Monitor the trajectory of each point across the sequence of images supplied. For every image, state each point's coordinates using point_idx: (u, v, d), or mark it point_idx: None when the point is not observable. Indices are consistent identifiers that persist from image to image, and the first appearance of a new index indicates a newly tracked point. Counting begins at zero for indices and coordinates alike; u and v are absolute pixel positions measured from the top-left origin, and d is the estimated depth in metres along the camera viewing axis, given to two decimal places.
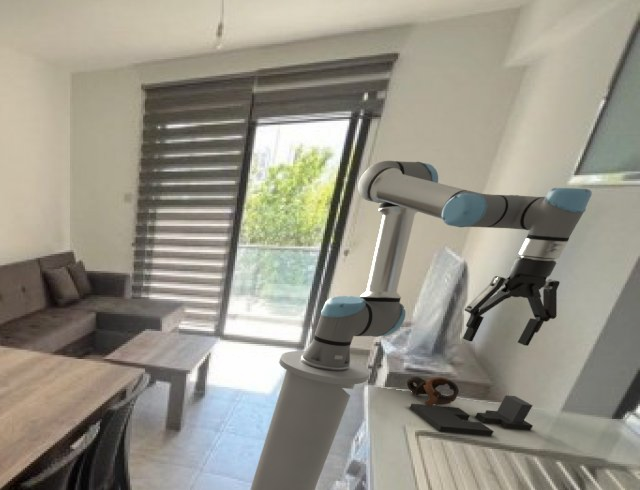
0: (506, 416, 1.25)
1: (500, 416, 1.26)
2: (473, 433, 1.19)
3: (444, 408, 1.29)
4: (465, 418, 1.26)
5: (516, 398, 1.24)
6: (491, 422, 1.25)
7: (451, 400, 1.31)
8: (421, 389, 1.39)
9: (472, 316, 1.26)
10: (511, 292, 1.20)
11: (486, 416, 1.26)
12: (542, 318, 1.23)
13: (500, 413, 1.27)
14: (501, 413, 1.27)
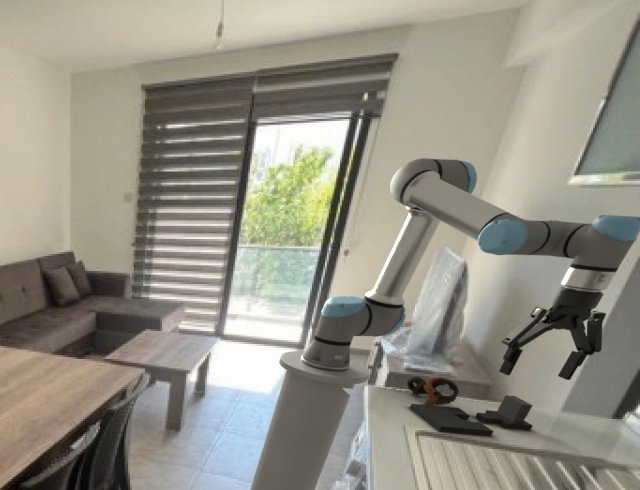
0: (506, 416, 1.25)
1: (500, 416, 1.26)
2: (473, 433, 1.19)
3: (444, 408, 1.29)
4: (465, 418, 1.26)
5: (516, 398, 1.24)
6: (491, 422, 1.25)
7: (451, 400, 1.31)
8: (421, 389, 1.39)
9: (510, 349, 1.18)
10: (553, 324, 1.13)
11: (486, 416, 1.26)
12: (586, 351, 1.15)
13: (500, 413, 1.27)
14: (501, 413, 1.27)
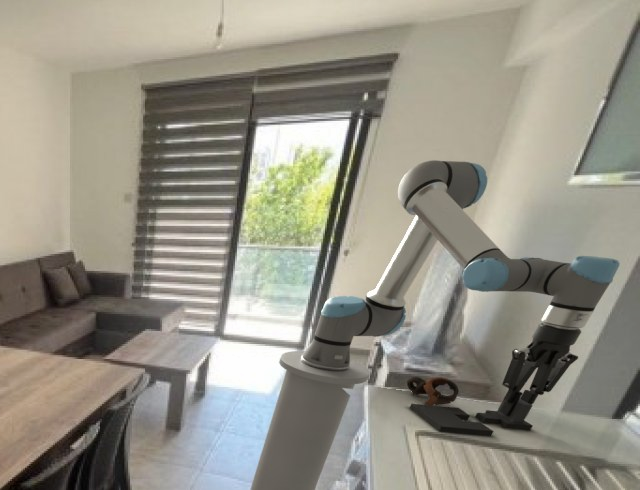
0: (506, 416, 1.25)
1: (500, 416, 1.26)
2: (473, 433, 1.19)
3: (444, 408, 1.29)
4: (465, 418, 1.26)
5: None
6: (491, 422, 1.25)
7: (451, 400, 1.31)
8: (421, 389, 1.39)
9: (510, 391, 1.22)
10: (537, 362, 1.17)
11: (486, 416, 1.26)
12: (538, 390, 1.20)
13: (500, 413, 1.27)
14: (501, 413, 1.27)
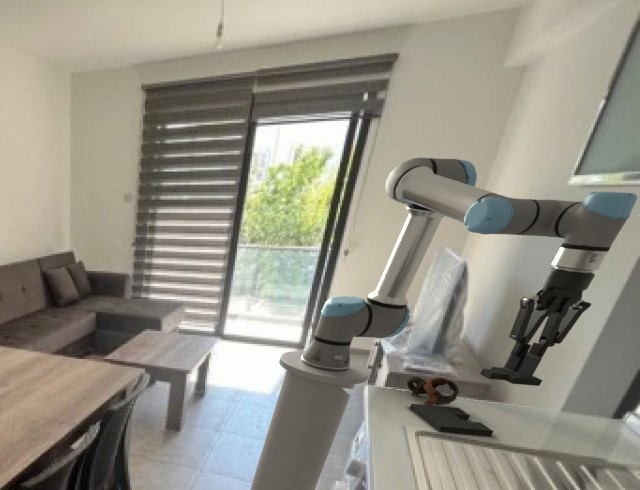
0: (513, 371, 1.17)
1: (507, 372, 1.18)
2: (473, 433, 1.19)
3: (444, 408, 1.29)
4: (465, 418, 1.26)
5: None
6: (497, 378, 1.17)
7: (451, 400, 1.31)
8: (421, 389, 1.39)
9: (518, 344, 1.14)
10: (547, 310, 1.09)
11: (492, 371, 1.18)
12: (548, 342, 1.12)
13: (507, 369, 1.19)
14: (508, 369, 1.19)
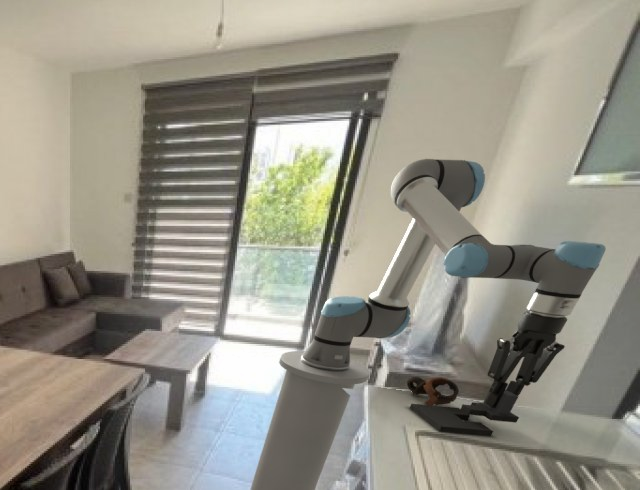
0: (492, 408, 1.22)
1: (486, 408, 1.23)
2: (473, 433, 1.19)
3: (444, 408, 1.29)
4: (465, 418, 1.26)
5: None
6: (476, 414, 1.22)
7: (451, 400, 1.31)
8: (421, 389, 1.39)
9: (496, 382, 1.19)
10: (523, 352, 1.14)
11: (472, 408, 1.22)
12: (524, 381, 1.17)
13: (486, 405, 1.23)
14: (487, 405, 1.23)
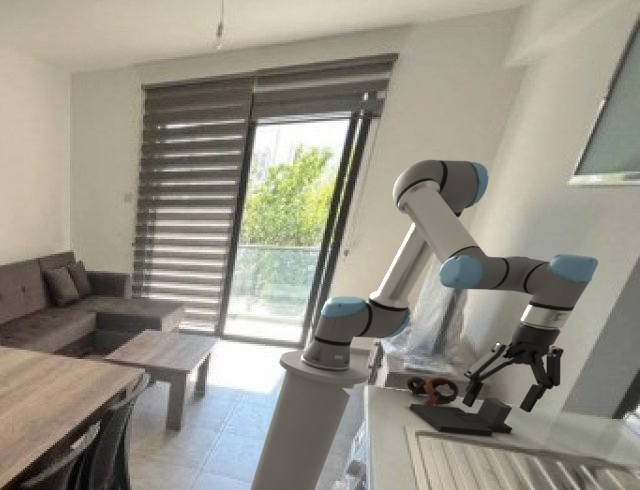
0: (486, 419, 1.23)
1: (480, 419, 1.24)
2: (473, 433, 1.19)
3: (444, 408, 1.29)
4: None
5: (496, 400, 1.22)
6: None
7: (451, 400, 1.31)
8: (421, 389, 1.39)
9: (472, 382, 1.20)
10: (513, 359, 1.15)
11: (466, 418, 1.24)
12: (545, 385, 1.17)
13: (480, 415, 1.25)
14: (481, 415, 1.25)
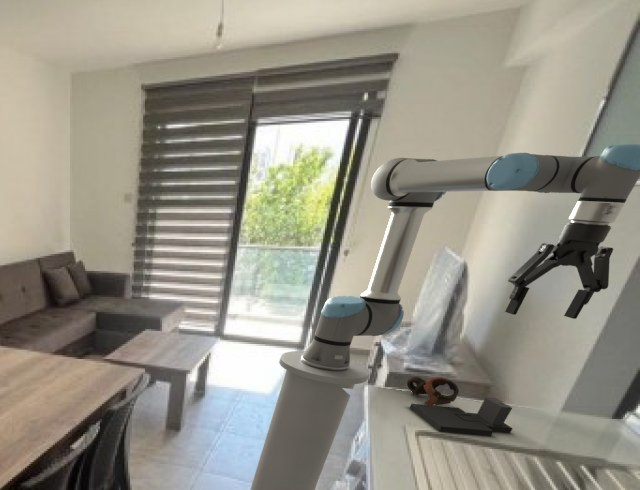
0: (486, 419, 1.23)
1: (480, 419, 1.24)
2: (473, 433, 1.19)
3: (444, 408, 1.29)
4: None
5: (496, 400, 1.22)
6: None
7: (451, 400, 1.31)
8: (421, 389, 1.39)
9: (516, 287, 1.18)
10: (560, 260, 1.12)
11: (466, 418, 1.24)
12: (592, 288, 1.15)
13: (480, 415, 1.25)
14: (481, 415, 1.25)
